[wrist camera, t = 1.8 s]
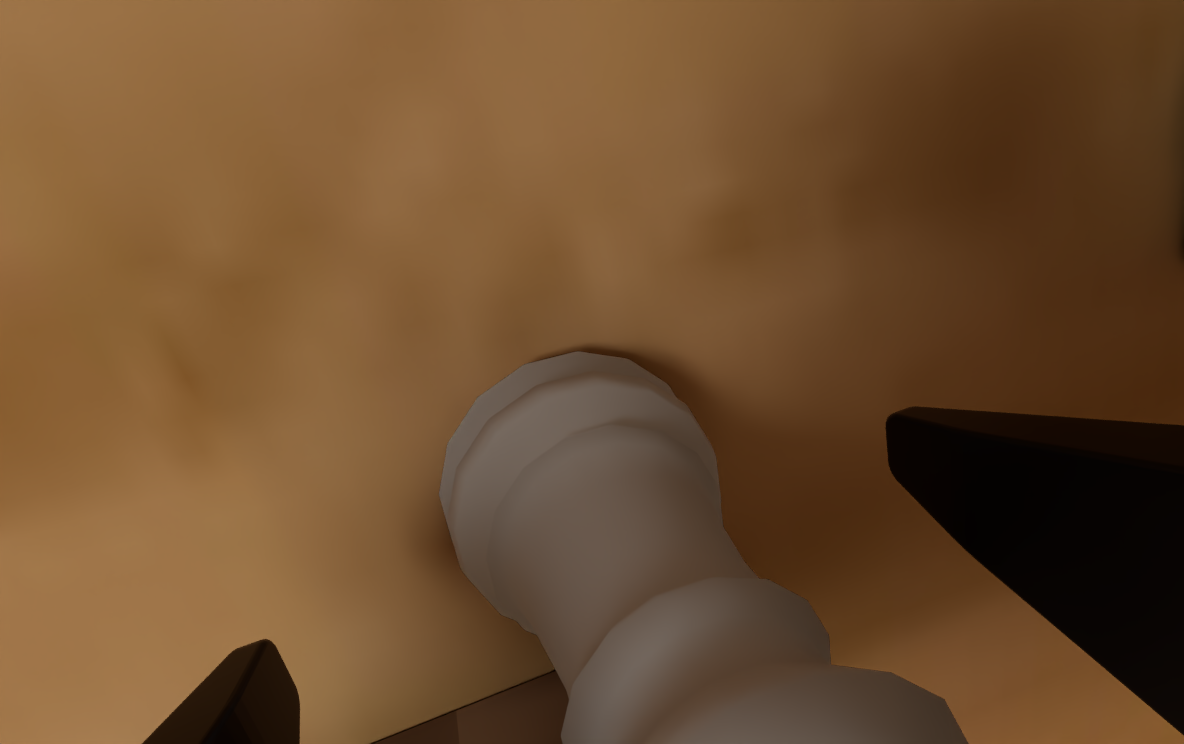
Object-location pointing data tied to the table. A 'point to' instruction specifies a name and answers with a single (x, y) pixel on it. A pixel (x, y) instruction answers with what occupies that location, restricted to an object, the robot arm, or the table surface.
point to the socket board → (500, 718)
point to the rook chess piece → (647, 573)
